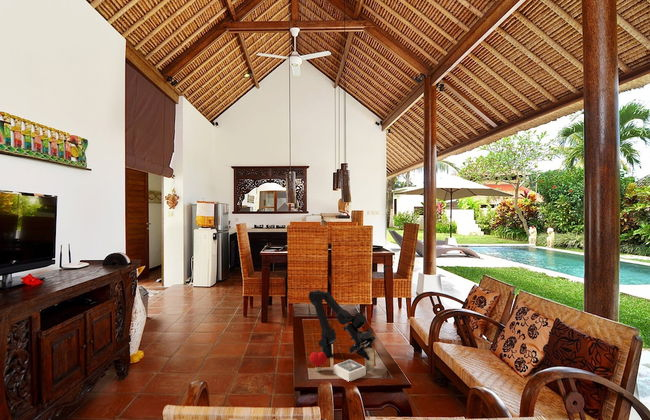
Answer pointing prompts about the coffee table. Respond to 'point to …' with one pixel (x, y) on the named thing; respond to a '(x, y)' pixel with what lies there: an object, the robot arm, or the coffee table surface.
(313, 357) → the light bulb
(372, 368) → the beech pin
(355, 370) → the socket block
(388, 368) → the coffee table surface
